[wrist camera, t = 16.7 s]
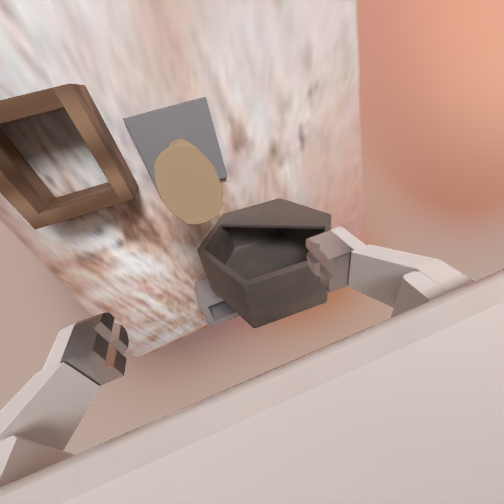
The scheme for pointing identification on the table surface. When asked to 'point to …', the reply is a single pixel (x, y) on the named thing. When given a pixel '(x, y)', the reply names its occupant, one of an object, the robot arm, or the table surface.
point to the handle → (188, 183)
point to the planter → (265, 260)
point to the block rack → (213, 304)
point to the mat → (176, 132)
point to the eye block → (28, 182)
